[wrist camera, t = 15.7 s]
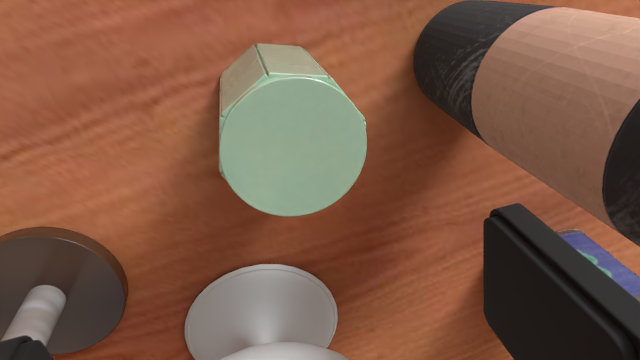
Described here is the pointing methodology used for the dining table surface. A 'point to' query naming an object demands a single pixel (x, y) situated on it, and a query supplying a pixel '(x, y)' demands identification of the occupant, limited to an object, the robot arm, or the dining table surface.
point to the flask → (603, 260)
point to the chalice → (263, 317)
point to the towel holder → (59, 289)
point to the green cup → (287, 132)
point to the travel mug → (545, 95)
